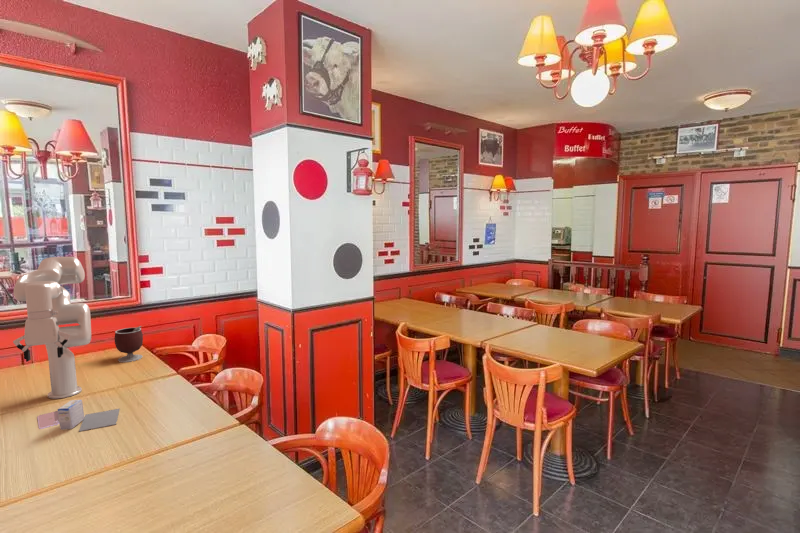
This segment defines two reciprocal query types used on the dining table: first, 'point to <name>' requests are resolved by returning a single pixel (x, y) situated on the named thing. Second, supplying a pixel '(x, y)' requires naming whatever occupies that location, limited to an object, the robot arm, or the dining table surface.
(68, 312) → the robot arm
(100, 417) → the mat
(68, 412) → the medicine box
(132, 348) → the mate gourd
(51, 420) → the mobile phone
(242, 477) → the dining table surface
